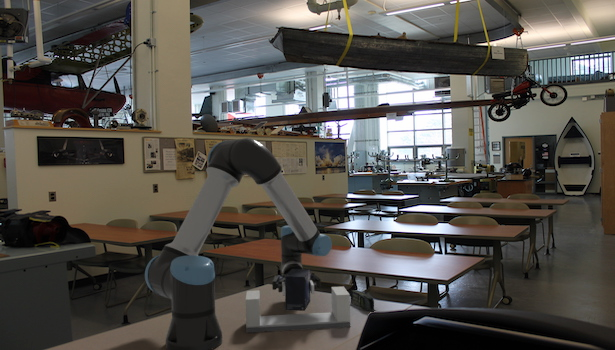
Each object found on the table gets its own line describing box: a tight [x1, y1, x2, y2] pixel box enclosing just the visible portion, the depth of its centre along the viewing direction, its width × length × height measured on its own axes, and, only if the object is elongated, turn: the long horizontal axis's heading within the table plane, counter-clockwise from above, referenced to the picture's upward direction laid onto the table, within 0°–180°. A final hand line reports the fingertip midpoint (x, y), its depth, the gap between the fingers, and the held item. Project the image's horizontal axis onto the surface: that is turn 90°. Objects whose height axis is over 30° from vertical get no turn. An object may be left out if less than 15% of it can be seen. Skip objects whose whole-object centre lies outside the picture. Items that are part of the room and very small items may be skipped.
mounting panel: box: [245, 311, 351, 333], centre depth 138 cm, size 31×10×2 cm, turn 96°
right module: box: [331, 285, 351, 322], centre depth 139 cm, size 4×10×8 cm, turn 6°
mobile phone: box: [349, 289, 377, 312], centre depth 154 cm, size 5×3×15 cm
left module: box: [245, 289, 261, 327], centre depth 137 cm, size 4×10×8 cm, turn 6°
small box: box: [284, 268, 311, 312], centre depth 138 cm, size 11×6×10 cm, turn 171°
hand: (298, 290), depth 133 cm, fingers closed on small box, 8 cm apart
